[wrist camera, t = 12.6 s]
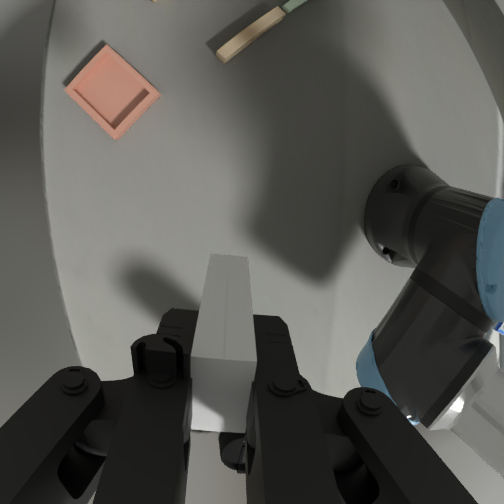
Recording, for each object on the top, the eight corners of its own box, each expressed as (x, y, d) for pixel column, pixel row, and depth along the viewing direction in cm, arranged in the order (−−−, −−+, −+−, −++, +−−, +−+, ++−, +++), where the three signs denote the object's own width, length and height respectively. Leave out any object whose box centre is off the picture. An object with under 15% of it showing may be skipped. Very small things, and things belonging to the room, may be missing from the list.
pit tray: (110, 48, 32) (106, 44, 30) (161, 95, 35) (159, 92, 33) (70, 92, 33) (64, 89, 31) (118, 139, 36) (114, 139, 34)
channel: (204, -44, 29) (204, -53, 26) (281, 20, 34) (285, 13, 31) (146, -3, 30) (143, -11, 28) (224, 64, 35) (225, 59, 32)
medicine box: (496, 303, 55) (521, 321, 47) (486, 321, 56) (510, 339, 48) (481, 293, 53) (508, 312, 45) (471, 312, 54) (497, 332, 46)
